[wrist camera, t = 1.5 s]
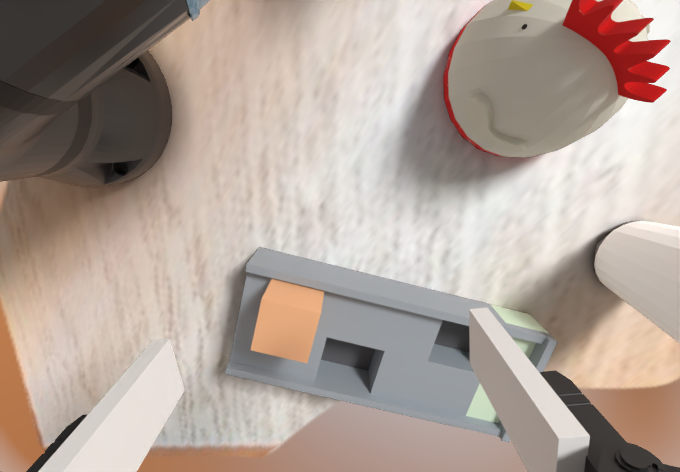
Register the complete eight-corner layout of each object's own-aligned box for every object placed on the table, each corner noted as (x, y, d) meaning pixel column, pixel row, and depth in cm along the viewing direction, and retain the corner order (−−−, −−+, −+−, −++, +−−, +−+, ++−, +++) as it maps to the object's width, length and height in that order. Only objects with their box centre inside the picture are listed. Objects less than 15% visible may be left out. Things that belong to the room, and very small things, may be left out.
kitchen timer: (532, -47, 30) (701, -212, 16) (628, 74, 33) (852, 27, 18) (411, 83, 33) (462, 44, 19) (508, 186, 36) (618, 221, 21)
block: (263, 320, 36) (250, 350, 31) (273, 275, 34) (261, 298, 29) (312, 332, 36) (307, 363, 31) (324, 287, 34) (321, 312, 30)
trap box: (239, 345, 41) (223, 377, 36) (259, 246, 38) (245, 265, 32) (488, 403, 42) (508, 442, 37) (529, 313, 39) (557, 342, 34)
